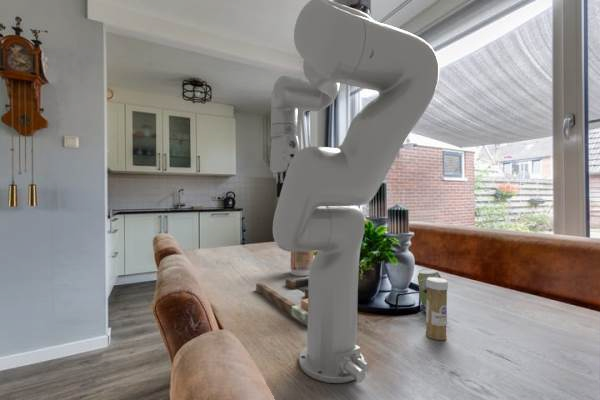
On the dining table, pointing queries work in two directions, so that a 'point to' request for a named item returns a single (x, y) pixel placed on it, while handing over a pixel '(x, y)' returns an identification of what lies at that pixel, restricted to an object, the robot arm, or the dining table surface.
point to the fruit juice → (301, 263)
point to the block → (304, 304)
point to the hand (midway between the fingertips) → (282, 197)
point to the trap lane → (283, 302)
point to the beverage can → (422, 284)
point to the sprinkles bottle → (436, 308)
